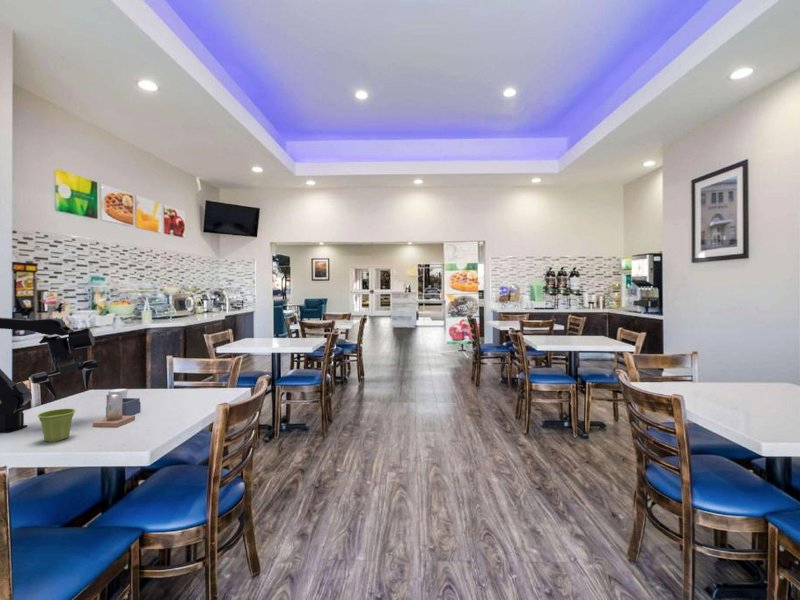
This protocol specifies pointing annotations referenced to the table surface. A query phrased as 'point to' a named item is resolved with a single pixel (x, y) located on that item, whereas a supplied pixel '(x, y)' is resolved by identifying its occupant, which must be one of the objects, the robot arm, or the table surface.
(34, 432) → the table surface
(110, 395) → the silver metal cylinder
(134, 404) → the dark blue ridged block
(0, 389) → the robot arm
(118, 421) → the tan flat square slab
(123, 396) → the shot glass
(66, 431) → the plant pot
